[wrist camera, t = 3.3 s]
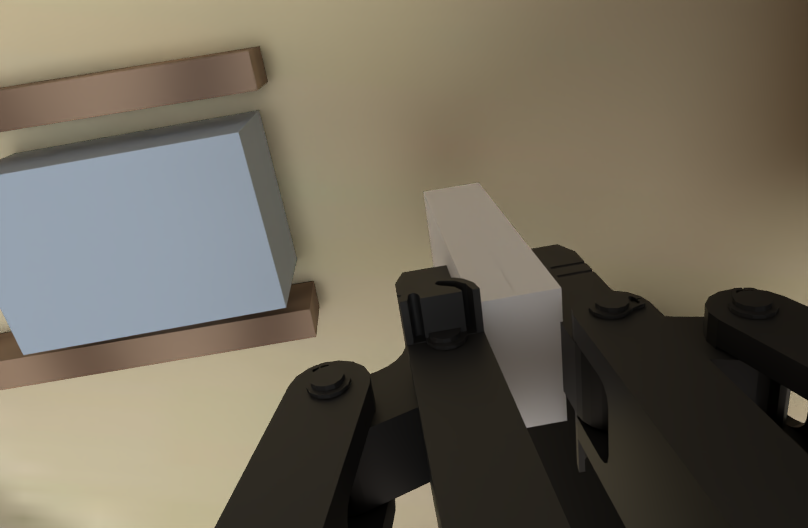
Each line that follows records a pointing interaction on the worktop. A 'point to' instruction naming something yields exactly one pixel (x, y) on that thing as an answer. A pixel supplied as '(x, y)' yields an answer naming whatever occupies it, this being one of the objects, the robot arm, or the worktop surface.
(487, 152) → the worktop surface
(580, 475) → the coffee jar
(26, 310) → the slate block
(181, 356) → the walnut channel
